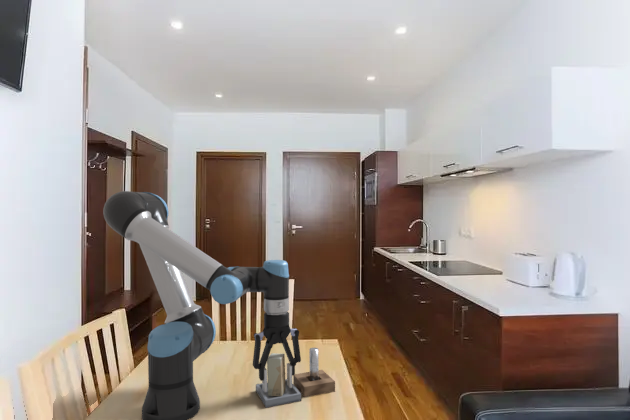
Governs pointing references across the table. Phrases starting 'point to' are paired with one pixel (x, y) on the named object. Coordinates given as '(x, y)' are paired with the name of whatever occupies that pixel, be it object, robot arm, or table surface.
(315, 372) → the pin
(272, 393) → the box
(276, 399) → the tray
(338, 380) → the table surface
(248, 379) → the table surface
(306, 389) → the brown block with hole
